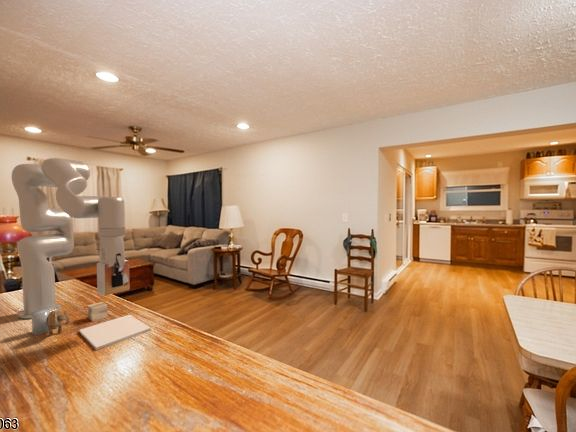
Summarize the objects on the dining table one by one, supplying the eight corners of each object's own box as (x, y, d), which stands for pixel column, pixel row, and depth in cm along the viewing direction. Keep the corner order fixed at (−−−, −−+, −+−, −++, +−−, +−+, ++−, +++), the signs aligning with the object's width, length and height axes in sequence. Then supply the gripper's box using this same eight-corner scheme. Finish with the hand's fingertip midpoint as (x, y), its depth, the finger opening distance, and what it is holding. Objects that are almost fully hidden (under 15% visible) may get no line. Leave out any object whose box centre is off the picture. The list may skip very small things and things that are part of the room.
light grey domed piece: (31, 332, 90) (30, 312, 90) (48, 327, 94) (47, 308, 93) (33, 336, 87) (32, 315, 87) (51, 331, 91) (50, 311, 91)
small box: (104, 296, 85) (103, 264, 85) (96, 293, 88) (95, 262, 88) (130, 289, 92) (129, 260, 92) (122, 287, 95) (121, 258, 95)
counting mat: (79, 332, 90) (79, 329, 90) (129, 316, 103) (129, 314, 103) (96, 350, 79) (96, 347, 79) (150, 330, 92) (150, 327, 92)
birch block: (88, 318, 101) (87, 305, 101) (103, 313, 105) (102, 301, 105) (92, 321, 98) (91, 308, 98) (107, 317, 102) (107, 304, 102)
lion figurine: (66, 336, 87) (65, 310, 87) (44, 341, 84) (43, 314, 84) (70, 320, 99) (70, 297, 99) (52, 324, 96) (51, 300, 96)
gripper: (91, 232, 92) (92, 282, 92) (108, 235, 81) (110, 292, 82) (115, 230, 98) (116, 277, 98) (134, 233, 87) (136, 286, 88)
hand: (113, 284), depth 90 cm, fingers closed on small box, 6 cm apart
